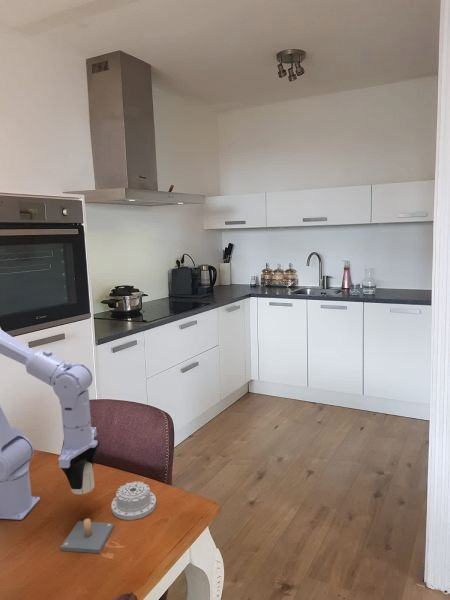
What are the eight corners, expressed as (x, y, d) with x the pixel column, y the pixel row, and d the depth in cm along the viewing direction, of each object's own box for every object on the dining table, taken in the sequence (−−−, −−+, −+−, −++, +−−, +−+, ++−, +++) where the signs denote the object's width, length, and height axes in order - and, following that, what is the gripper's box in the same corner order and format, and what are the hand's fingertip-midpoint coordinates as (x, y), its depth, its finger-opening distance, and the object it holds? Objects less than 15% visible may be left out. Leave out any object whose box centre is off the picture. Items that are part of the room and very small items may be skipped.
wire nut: (68, 493, 99) (66, 472, 98) (77, 481, 103) (75, 461, 103) (88, 494, 98) (86, 473, 97) (97, 482, 103) (95, 461, 102)
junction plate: (60, 550, 92) (59, 532, 91) (78, 524, 99) (77, 507, 99) (99, 553, 90) (98, 534, 90) (114, 526, 98) (113, 509, 98)
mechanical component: (104, 518, 101) (146, 523, 99) (102, 500, 101) (145, 505, 99) (122, 492, 111) (162, 496, 109) (121, 475, 110) (161, 479, 108)
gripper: (80, 439, 91) (85, 502, 93) (107, 409, 105) (111, 464, 107) (46, 438, 92) (52, 500, 94) (78, 408, 106) (82, 463, 108)
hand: (81, 481), depth 101 cm, fingers closed on wire nut, 5 cm apart
